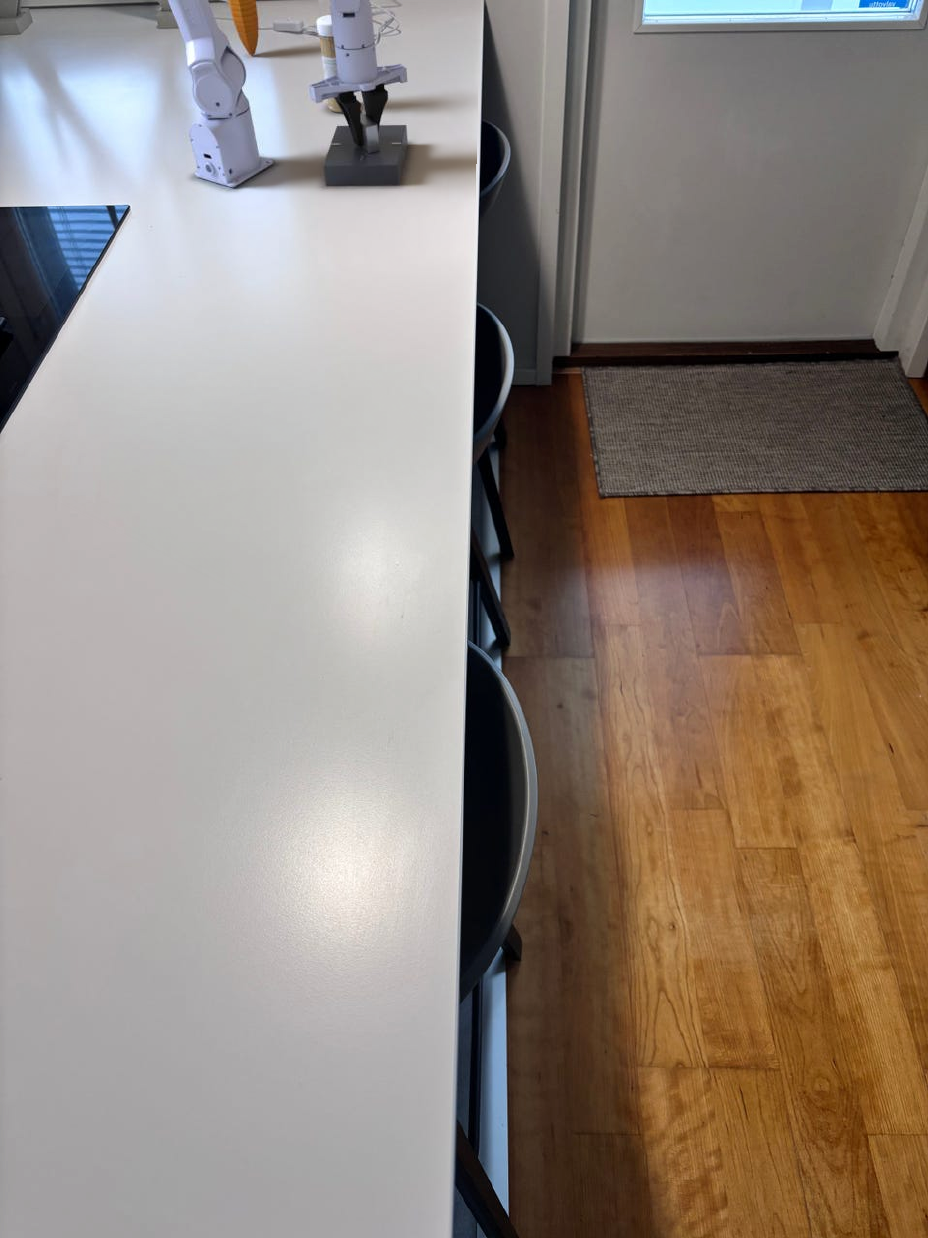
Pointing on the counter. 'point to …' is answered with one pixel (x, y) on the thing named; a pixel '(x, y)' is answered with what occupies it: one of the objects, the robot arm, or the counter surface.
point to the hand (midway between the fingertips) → (365, 141)
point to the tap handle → (369, 134)
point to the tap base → (366, 158)
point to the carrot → (246, 22)
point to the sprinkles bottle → (328, 54)
